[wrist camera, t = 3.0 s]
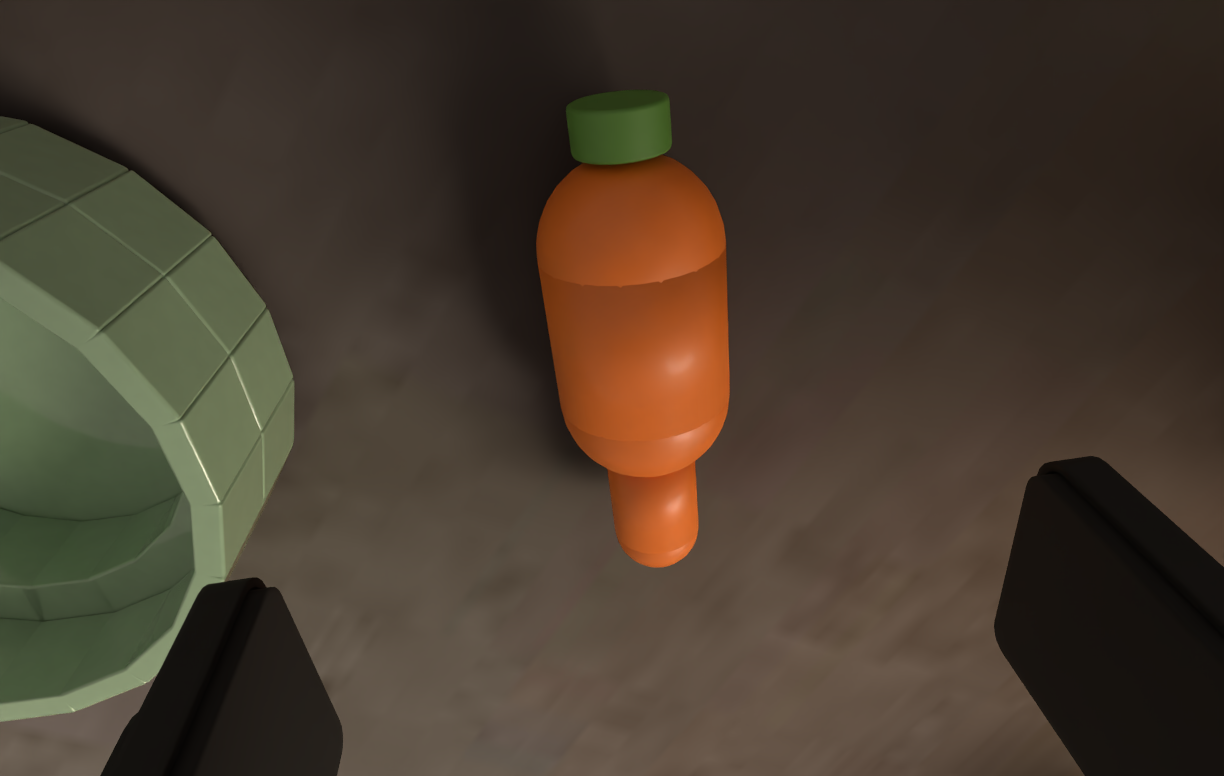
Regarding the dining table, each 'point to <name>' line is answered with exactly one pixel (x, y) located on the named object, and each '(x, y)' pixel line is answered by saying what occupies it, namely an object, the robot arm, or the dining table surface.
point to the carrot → (637, 315)
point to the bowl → (119, 422)
